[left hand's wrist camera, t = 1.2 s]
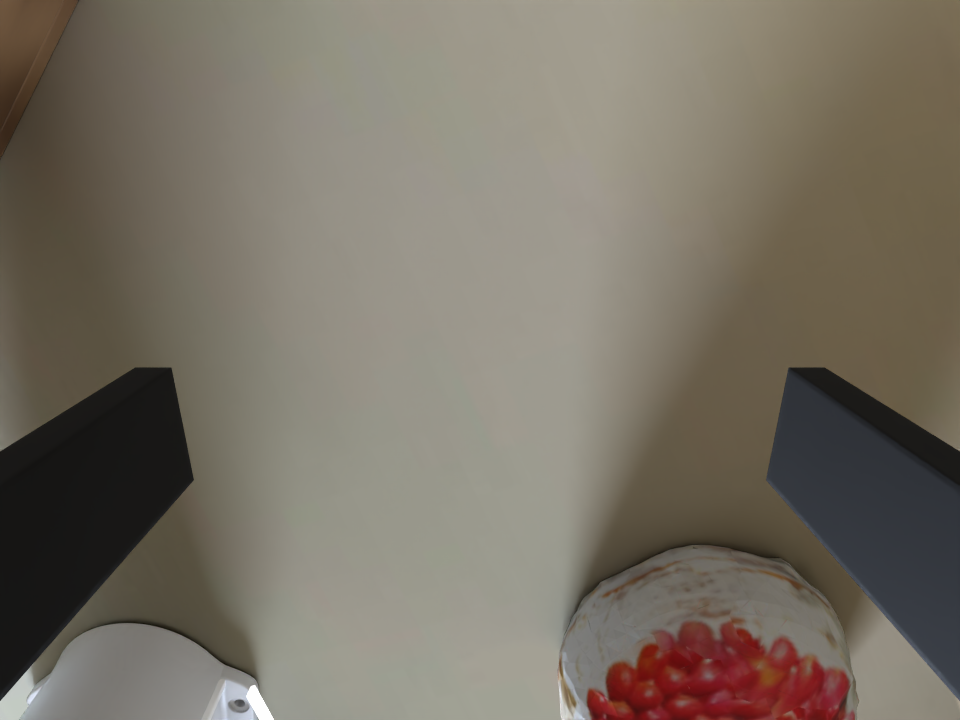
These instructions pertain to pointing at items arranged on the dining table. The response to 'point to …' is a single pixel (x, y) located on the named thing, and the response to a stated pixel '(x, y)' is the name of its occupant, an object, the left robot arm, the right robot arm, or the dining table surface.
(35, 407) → the dining table surface
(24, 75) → the cabinet
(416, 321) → the dining table surface
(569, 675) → the cake
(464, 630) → the dining table surface
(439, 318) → the dining table surface
